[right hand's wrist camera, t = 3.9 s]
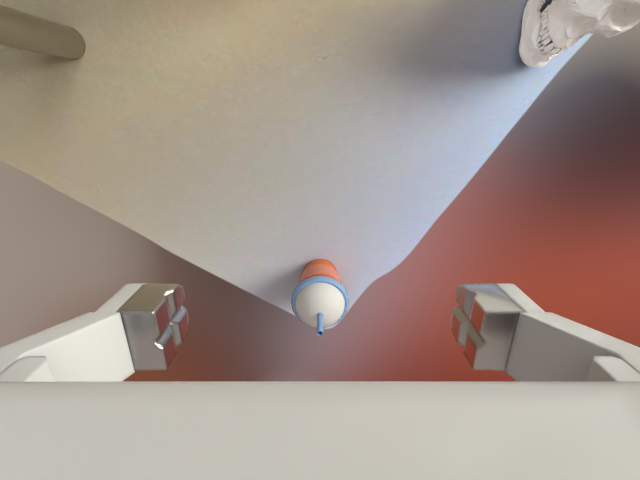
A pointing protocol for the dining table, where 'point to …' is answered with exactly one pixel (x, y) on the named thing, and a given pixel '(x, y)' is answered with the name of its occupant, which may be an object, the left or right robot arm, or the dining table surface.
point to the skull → (571, 25)
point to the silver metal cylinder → (39, 35)
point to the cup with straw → (319, 296)
